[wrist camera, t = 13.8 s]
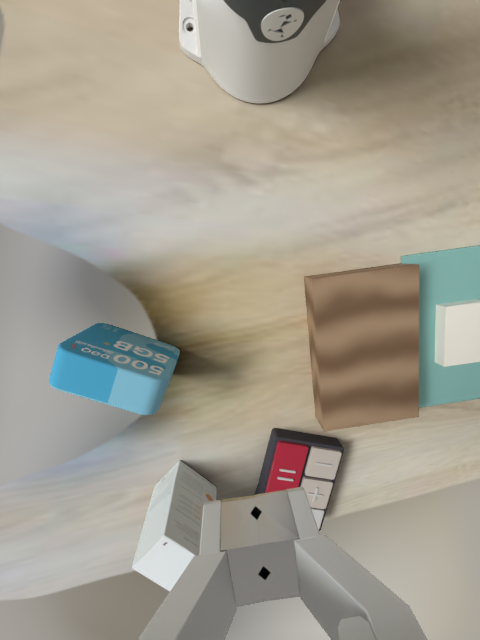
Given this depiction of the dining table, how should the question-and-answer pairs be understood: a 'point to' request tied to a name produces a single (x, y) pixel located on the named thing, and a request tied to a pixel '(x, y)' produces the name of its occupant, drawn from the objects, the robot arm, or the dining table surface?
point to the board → (364, 345)
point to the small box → (173, 525)
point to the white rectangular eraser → (457, 333)
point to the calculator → (302, 467)
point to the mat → (435, 288)
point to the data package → (115, 368)
